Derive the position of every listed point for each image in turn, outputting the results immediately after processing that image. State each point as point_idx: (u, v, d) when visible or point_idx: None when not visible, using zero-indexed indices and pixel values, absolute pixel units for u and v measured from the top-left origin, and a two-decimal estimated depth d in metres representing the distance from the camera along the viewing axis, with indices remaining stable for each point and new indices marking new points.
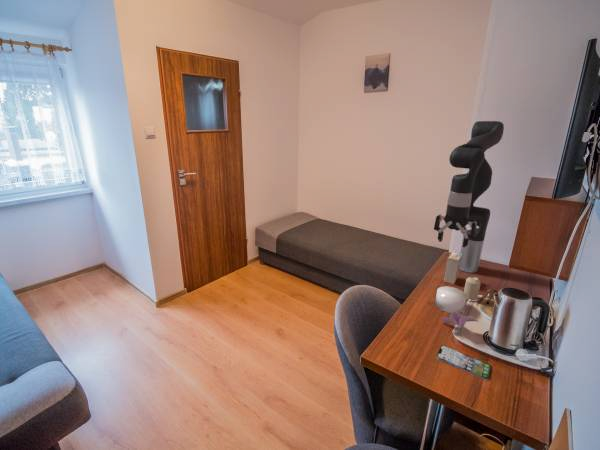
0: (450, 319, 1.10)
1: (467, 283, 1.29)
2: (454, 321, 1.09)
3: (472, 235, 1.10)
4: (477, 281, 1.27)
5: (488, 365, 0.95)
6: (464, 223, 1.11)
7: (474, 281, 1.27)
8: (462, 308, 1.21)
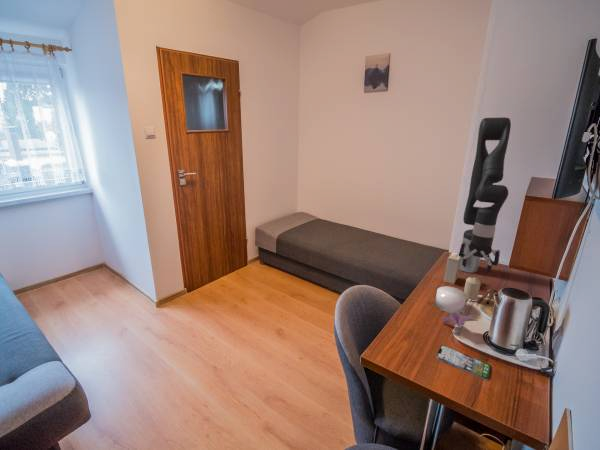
0: (450, 319, 1.10)
1: (467, 283, 1.29)
2: (454, 321, 1.10)
3: (495, 263, 1.20)
4: (477, 281, 1.27)
5: (488, 365, 0.95)
6: (488, 251, 1.21)
7: (474, 281, 1.27)
8: (462, 308, 1.21)
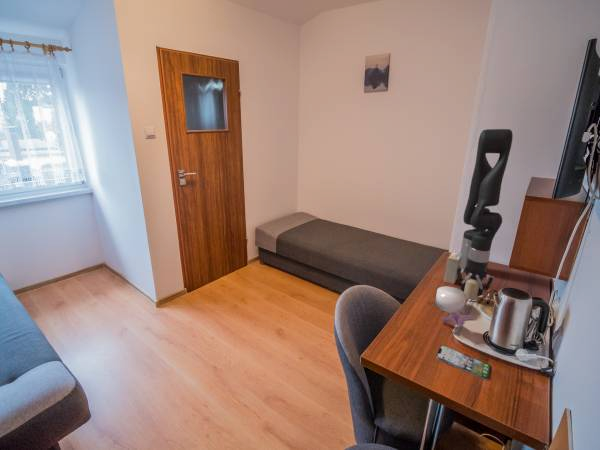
0: (449, 318, 1.10)
1: (467, 283, 1.29)
2: (453, 320, 1.10)
3: (487, 287, 1.25)
4: None
5: (487, 365, 0.95)
6: (483, 275, 1.25)
7: (474, 281, 1.27)
8: (462, 308, 1.21)
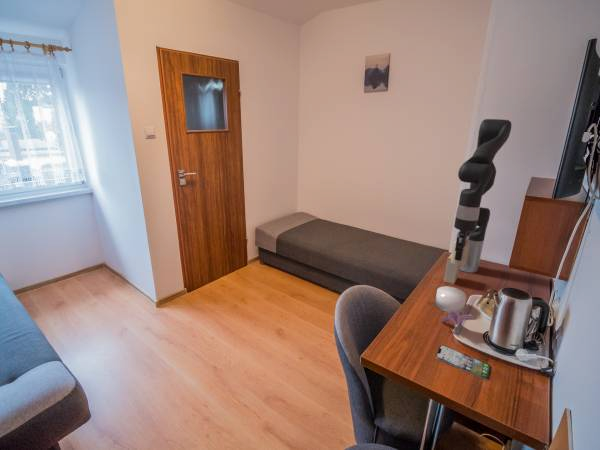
0: (448, 318, 1.11)
1: None
2: (452, 320, 1.10)
3: (455, 248, 1.14)
4: None
5: (487, 365, 0.95)
6: (459, 235, 1.15)
7: (456, 240, 1.18)
8: (462, 308, 1.21)
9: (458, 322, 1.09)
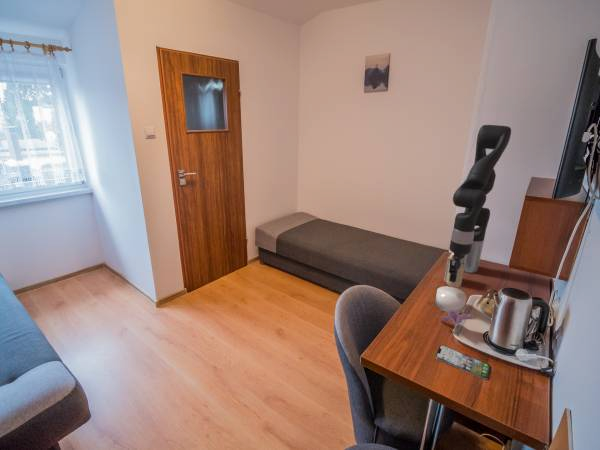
0: (448, 317, 1.11)
1: None
2: (451, 319, 1.10)
3: (449, 270, 1.17)
4: None
5: (487, 364, 0.95)
6: None
7: None
8: (462, 308, 1.21)
9: (457, 321, 1.09)
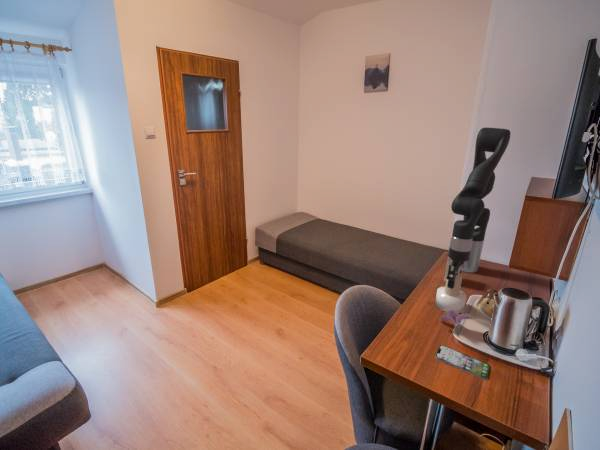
0: (447, 317, 1.11)
1: None
2: (451, 319, 1.10)
3: (447, 276, 1.17)
4: None
5: (487, 364, 0.96)
6: None
7: None
8: (462, 308, 1.21)
9: (457, 321, 1.10)
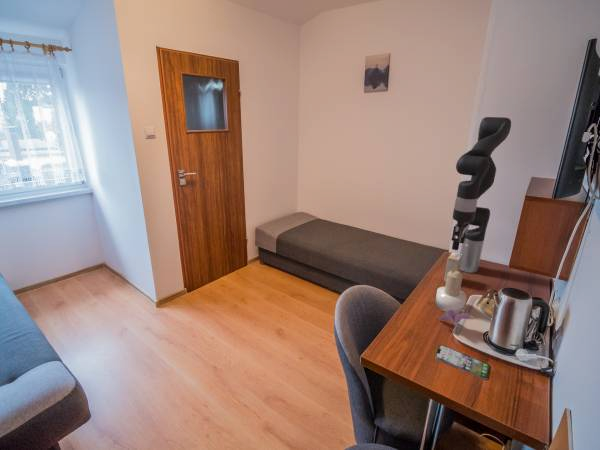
0: (446, 317, 1.11)
1: None
2: (450, 318, 1.11)
3: (452, 237, 1.17)
4: (451, 273, 1.21)
5: (486, 364, 0.96)
6: None
7: (449, 272, 1.22)
8: (462, 308, 1.21)
9: (456, 321, 1.10)
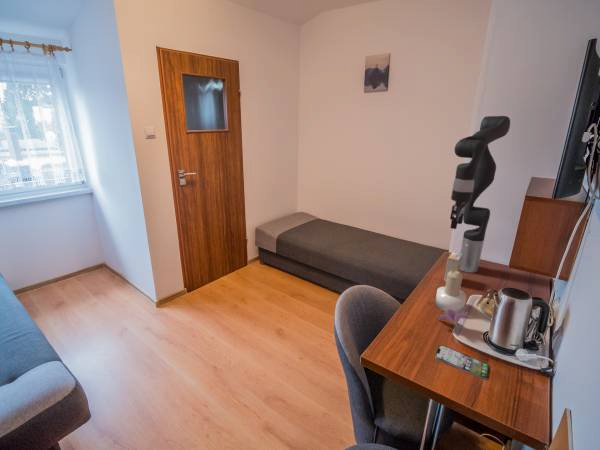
0: (445, 316, 1.12)
1: None
2: (449, 318, 1.11)
3: None
4: (451, 273, 1.21)
5: (486, 364, 0.96)
6: None
7: (449, 272, 1.22)
8: (462, 308, 1.21)
9: (455, 320, 1.10)
